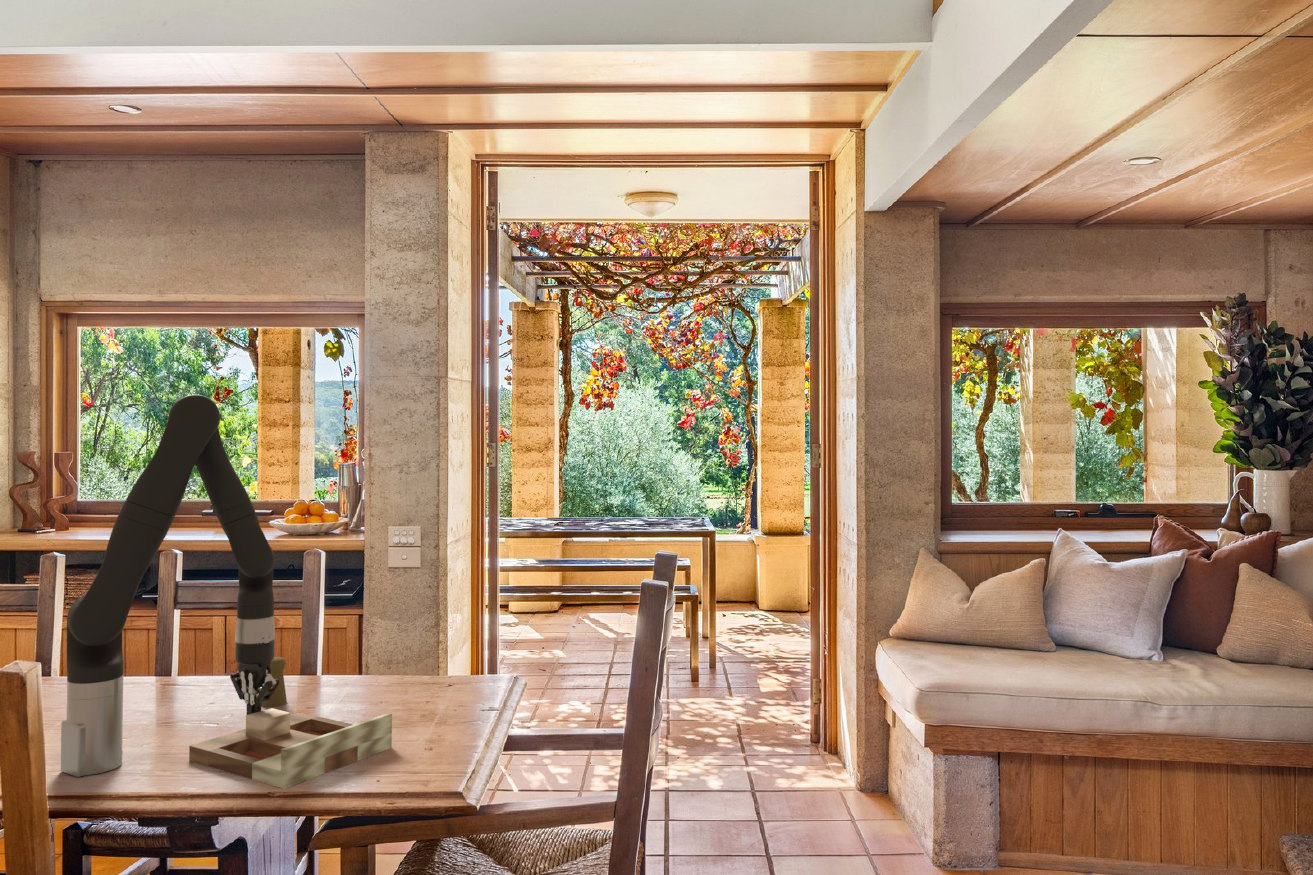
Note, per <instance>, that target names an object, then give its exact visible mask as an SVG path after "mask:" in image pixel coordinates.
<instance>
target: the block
mask: <svg viewBox="0 0 1313 875" xmlns="http://www.w3.org/2000/svg"><path fill="white" fill-rule="evenodd" d="M290 715H291V712H290V711H289V712H288V711H284V710H281V709H277V708H273V707H270V708H268V709H264V710H263V709H262V710H261V711H260V712H256V713H252V714H248V715H247V714H245V729H246V735H248V736H251V737H255V738H258V739H262V740H266V739H269V738H273V737H276V736H279V735H283V734H286V733H289V732H290Z"/></svg>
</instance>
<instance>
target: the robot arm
mask: <svg viewBox="0 0 1313 875" xmlns="http://www.w3.org/2000/svg"><path fill="white" fill-rule="evenodd" d="M220 422H221V413H220V410H219V408H218V406H217V404H216V403H215V402H214V401H213V400H212V399H211V398H210V397H208V396H205V395H203V394H189V395H186V396H183V397H180V399H178V400H176V401H175V402H174V403H173V404H172V406H171V408H170V409H169V412H168V417H167V422H166V426H165V427H164V431H163V433H162V436H161V439H160V442H159V444H158V446H157V448H156V451H155V453H154V454H153V456H152V458H151V459H150V461H149V462H148V463H147V465H146V467H145V468H144V469H143V471H142V472H141V474H140V475H139V476H138V479H136V481H135V483H134V484H133V486H132V488H131V490H130V491H129V493H128V495H127V497H126V498H125V501H124V502H123V505H122V507H121V509H120V511H119V512H118V515H117V518H116V520H115V522H114V525H113V527H112V530H111V533H110V535H109V539H108V542H107V546H106V549H105V554H104V556H103V561H102V563H101V565H100V568H99V570H98V572H97V574H96V576H95V578H94V579H93V582H92V583H91V585H90V587H89V588H88V590H87V591H86V593H85V594H83V595H81V596H80V597H78V598H77V599H76V600H75V601H73V603H72V604H71V606H70V607H69V609H68V611H67V616H66V719H65V720H62V721H61V725H60V726H61V727H60V772H61V773H64V774H68V775H71V776H74V777H75V778H76V777H77V778H80V777H82V776H83V777H84V776H89V775H97V774H102V773H105V772H108V771H111V770H114V769H116V768H119V767H121V765H122V764H123V753H124V752H123V733H124V732H123V729H124V727H123V726H124V725H123V723H124V722H123V721H124V718H123V717H124V666H125V663H124V654H123V653H124V652H123V629H124V627H125V625H126V622H127V619H128V616H129V612H130V610H131V607H132V604H133V602H134V598H135V596H136V593H137V590H138V588H139V587H140V586H139V585H140V583H141V582H142V579H143V577H144V575H145V573H146V572H147V570H148V569H149V566H150V565H151V563H152V562H153V560H154V559H155V557H156V555H157V553H158V551H159V549H160V547H161V545H162V543H163V542H164V540H165V538H166V536H167V535H168V533H169V530H170V528H171V526H172V524H173V522H174V519H175V517H176V515H177V513H178V510H179V508H180V506H181V503H182V501H183V497H184V495H185V492H186V489H187V487H188V484H189V480H190V478H191V474H192V471H193V469H194V467H196V469H197V472H198V474H199V477H200V479H201V480H202V483H203V486H204V488H205V491H206V493H207V496H208V499H209V501H210V504H211V507H212V509H213V510H214V513H215V516H216V517H217V520H218V522H219V524H220V527H221V528H222V530H223V532H224V534H225V536H226V537H227V540H228V543H229V545H230V548H231V551H232V553H233V556H234V559H235V561H236V564H237V566H238V589H239V590H238V594H237V601H236V602H237V605H236V624H235V632H234V633H235V635H234V637H235V639H234V640H235V645H234V646H235V647H234V660H235V663H236V664H238V666H237V671H236V672H235V673H231V674H230V675H229V678H230V681H231V682H232V684H233V688H234V689H235V691H236V694H237V696H238V698H239V700H243V701H244V703H245V704H246V715H248V714H252V713H256V712H260V711H262V706H261V705H262V702H265V701H269V699H270V698H271V696H272V694H273V693H274V691H275V689H276V688H277V686H278V685H279V679H274V678H273V677H272V676H271V672H272V670H271V667H270V662H271V661H272V660H273V659H274V657H275V649H276V648H275V645H276V644H275V643H276V642H275V639H276V637H275V636H276V624H275V617H274V616H275V615H274V614H275V613H274V612H275V598H274V596H275V595H274V590H273V582H274V566H275V563H276V557H275V553H274V550H273V548H272V547H271V546H270V544H269V542H268V539H267V537H266V536H265V533H264V531H263V529H262V528H261V525H260V521H259V517H258V514H257V512H256V510H255V507H254V505H253V503H252V500H251V499H250V497H249V494H248V492H247V489H246V488H245V486H244V485H243V484H244V483H243V482H242V480H241V479H240V477H239V475H238V474H237V472H236V470H235V468H234V466H233V465H232V463H231V461H230V459H229V457H228V454H227V453H226V452H227V451H226V450H225V447H224V445H223V441H222V437H221V434H220V429H219V426H220V424H221V423H220Z"/></svg>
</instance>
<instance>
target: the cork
mask: <svg viewBox="0 0 1313 875" xmlns="http://www.w3.org/2000/svg"><path fill="white" fill-rule="evenodd" d="M270 667H271V670H272V672H271V676H272V677H273V678H274V679H279V685H278V686H277V688H276V689H275V691H274V693H273V694H272V696H271V698H270V699H269V701H265V702H262V705H261V707H264V708H273V707H280V706H284V705H286V704H287V703H288V702H287V701H288V698H287V695H286V694H287V693H286V684H285V676H284V670H285V668H286V660H285V658H284V657H281V656H274V659H273V660H272V661H271V662H270Z"/></svg>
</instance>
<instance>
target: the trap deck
mask: <svg viewBox="0 0 1313 875" xmlns="http://www.w3.org/2000/svg"><path fill="white" fill-rule="evenodd" d="M392 735H393V713H389V712H388V713H385V714H381V715H378V716H376V717H371V718H370V719H367V720H364V721H360V722H358V723H355V724H353V723H348V722H344V721H339V720H335V719H332V718H331V719H330V718H327V717H326V718H325V717H322V716H318V715H314V714H309V713H305V712H296V713H293V714H290V732H289V733H286V734H283V735H279V736H276V737H273V738H269V739H266V740H262V739H258V738H255V737H251V736H248V735H246V728H244V729H240V730H238V731H234V732H230V733H226V734H224V735H220V736H217V737H214V738H211V739H207V740H204V741H201V742H197V743H194V744H191V745H189V750H188V752H189V755H188V756H189V757H188V759H189V761H188V762H191V763H195V764H199V765H202V766H205V767H208V768H213V769H215V770H218V769H219V771H221V772H225V773H228V774H233V775H235V776H240V777H242V778H246V779H249V780H251V781H252V780H253V781H256V782H259V783H263V784H267V785H270V786H273V787H277V788H280V789H283V790H285V789H288V788H290V787H294V786H296V785H298V784H300V783H303V782H307V781H309V780H311V779H314V778H316V777H319V776H321V775H324V774H327V773H330V772H333V771H335V770H338V769H340V768H342V767H345V766H347V765H351V764H353V763H356V762H358V761H360V760H361V761H362V760H363V759H367V758H368V757H371V756H373V755H376V754H379V753H383V752H385V751H386V750H389V749H391V748H392V744H393V741H392V740H393V739H392V738H393V737H392Z"/></svg>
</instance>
